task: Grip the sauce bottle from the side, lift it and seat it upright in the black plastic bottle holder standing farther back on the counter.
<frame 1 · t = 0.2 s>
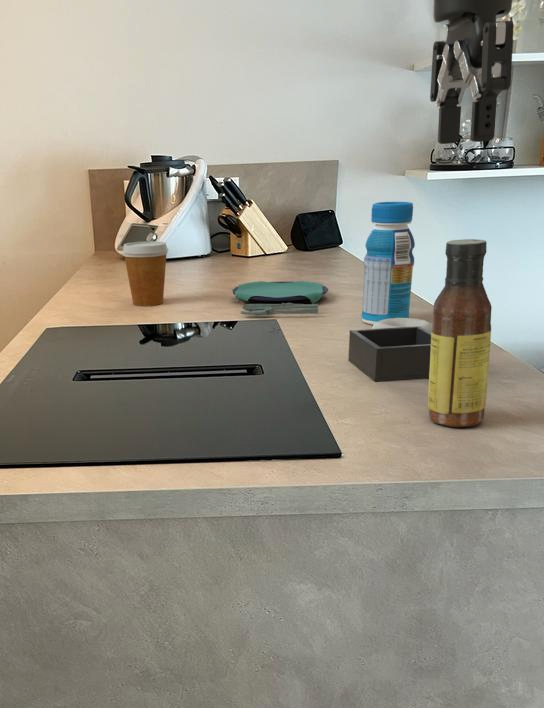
hand: (464, 142, 84), 29 cm above the countertop, tool pointing down, fingers open, 8 cm apart
holder: (397, 368, 111), on the countertop
sauce bottle: (453, 422, 90), on the countertop
beverage bottle: (384, 322, 140), on the countertop
cutlery set: (278, 304, 159), on the countertop
disposable coffee cup: (148, 304, 164), on the countertop
donut: (401, 344, 125), on the countertop
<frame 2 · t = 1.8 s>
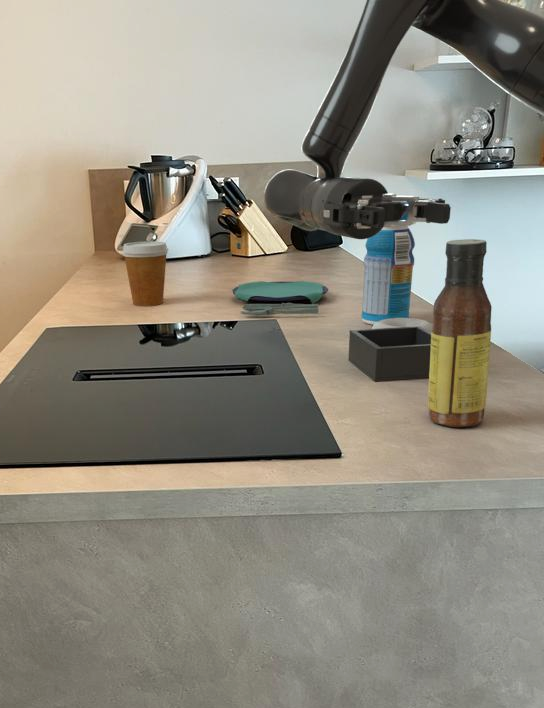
hand: (415, 216, 91), 22 cm above the countertop, tool horizontal, fingers open, 8 cm apart
nothing on the countertop moved.
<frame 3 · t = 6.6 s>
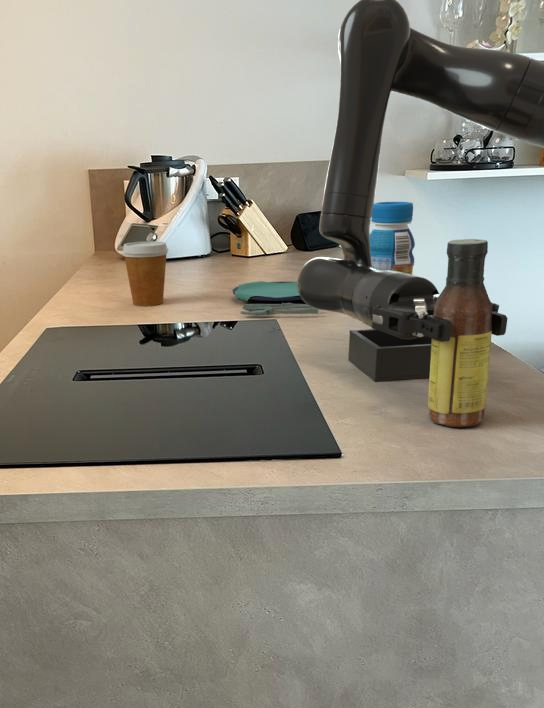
hand: (476, 329, 84), 11 cm above the countertop, tool horizontal, fingers closed on sauce bottle, 6 cm apart
sauce bottle: (452, 422, 90), on the countertop, touching gripper
everything else where it was.
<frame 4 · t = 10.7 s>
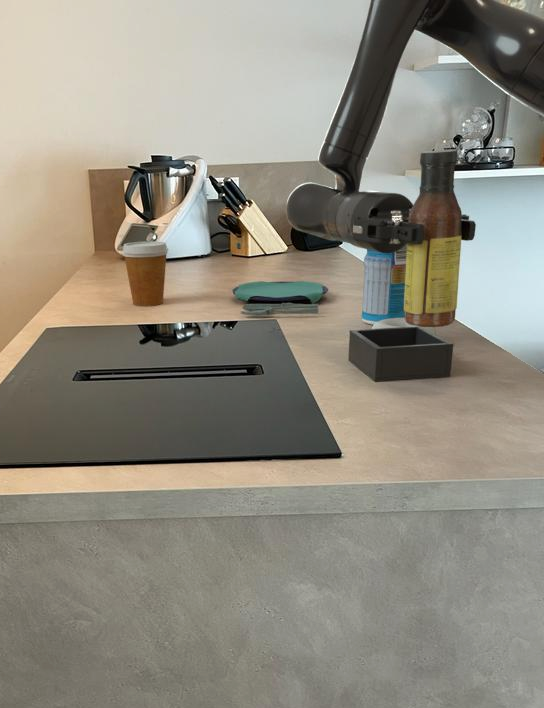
hand: (446, 233, 91), 20 cm above the countertop, tool horizontal, fingers closed on sauce bottle, 6 cm apart
sauce bottle: (426, 324, 98), point 8 cm above the countertop, touching gripper
everything else where it was.
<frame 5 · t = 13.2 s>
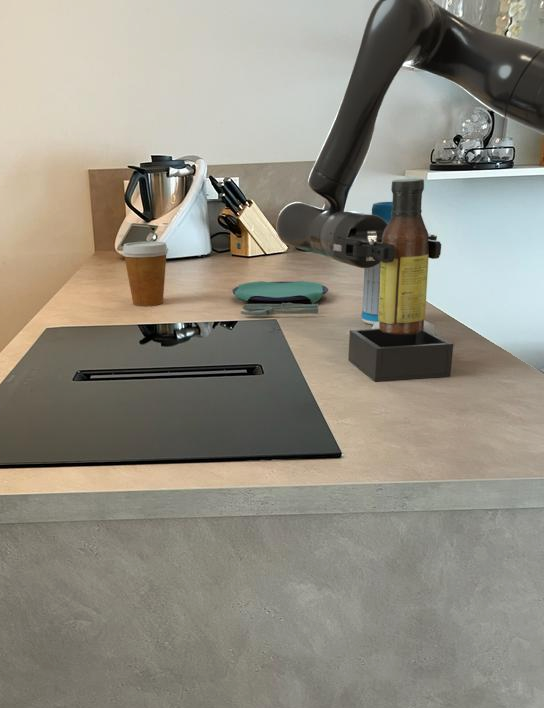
hand: (415, 252, 103), 16 cm above the countertop, tool horizontal, fingers closed on sauce bottle, 6 cm apart
sauce bottle: (399, 333, 109), point 5 cm above the countertop, touching gripper
everything else where it was.
when the fingers open (12 cm above the countertop, at t = 15.1 s): sauce bottle stays where it is, resting on holder.
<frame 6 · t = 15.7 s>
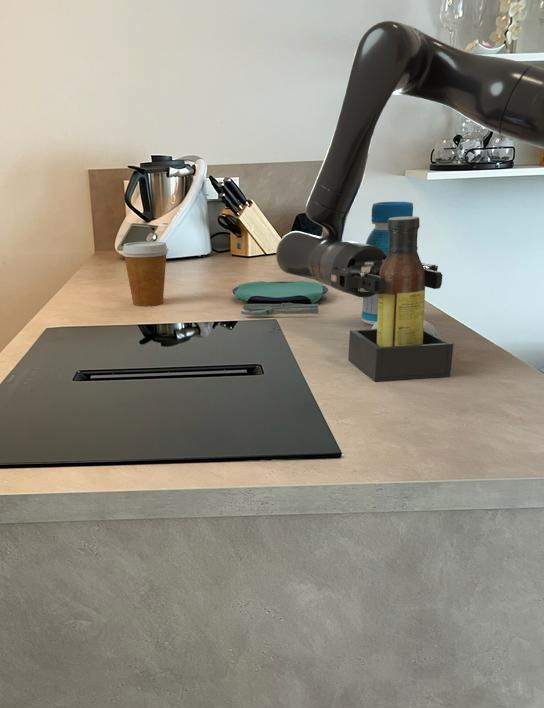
hand: (411, 283, 105), 12 cm above the countertop, tool horizontal, fingers open, 8 cm apart
sauce bottle: (397, 365, 111), resting on holder
everything else where it was.
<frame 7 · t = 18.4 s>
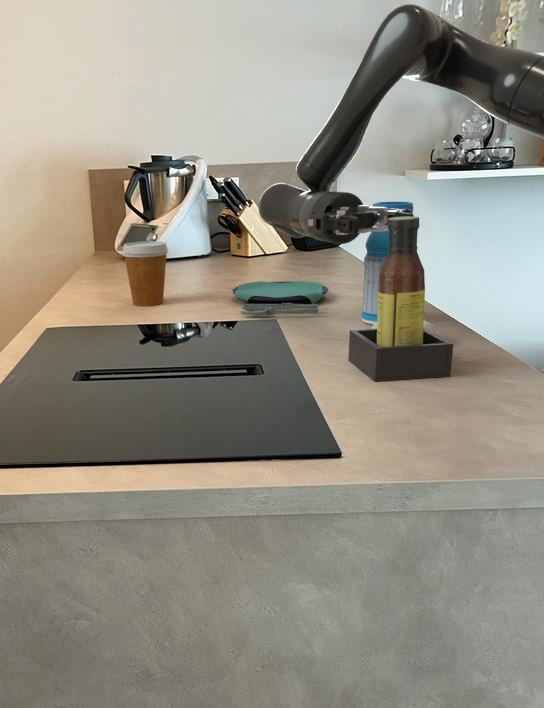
hand: (384, 223, 109), 19 cm above the countertop, tool horizontal, fingers open, 8 cm apart
nothing on the countertop moved.
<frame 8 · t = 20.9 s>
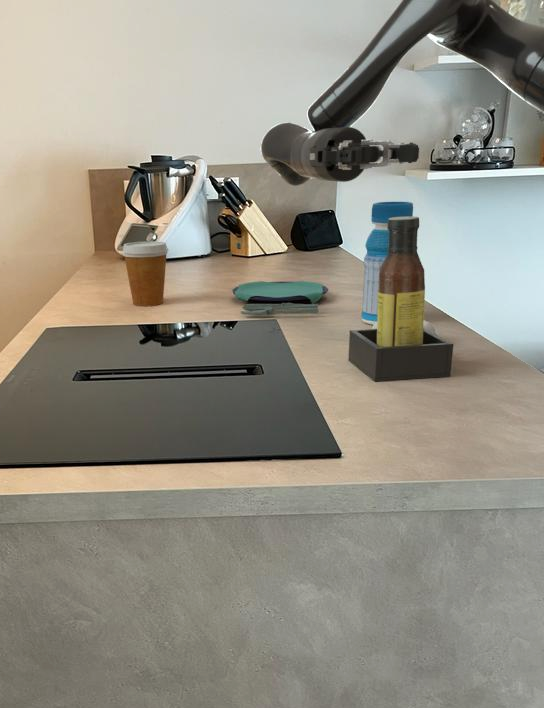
hand: (387, 154, 106), 28 cm above the countertop, tool horizontal, fingers open, 8 cm apart
nothing on the countertop moved.
at the end: sauce bottle 0.1 cm off-centre in the holder, point 0.3 cm above the holder's base; sauce bottle tilted 0°; the gripper is holding nothing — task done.
